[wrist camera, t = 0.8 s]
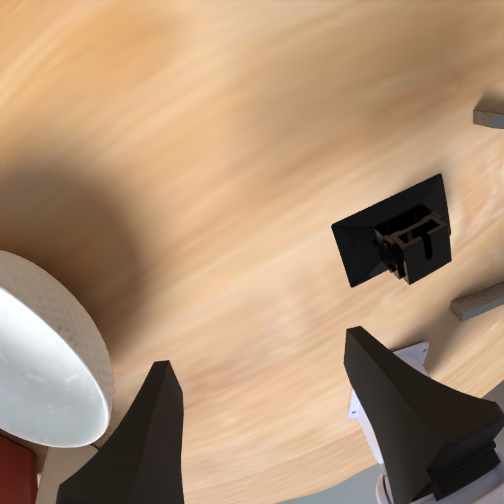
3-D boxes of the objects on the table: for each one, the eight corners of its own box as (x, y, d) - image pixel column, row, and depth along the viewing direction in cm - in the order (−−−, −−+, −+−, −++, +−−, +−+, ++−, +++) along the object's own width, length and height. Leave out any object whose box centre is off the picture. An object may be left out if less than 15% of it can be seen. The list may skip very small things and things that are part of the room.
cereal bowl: (157, 381, 25) (150, 451, 19) (20, 390, 25) (-1, 441, 18) (72, 191, 17) (16, 238, 11) (-65, 248, 17) (-111, 291, 11)
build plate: (448, 154, 20) (490, 169, 16) (459, 234, 23) (494, 259, 19) (303, 221, 21) (328, 253, 17) (335, 302, 24) (358, 341, 20)
